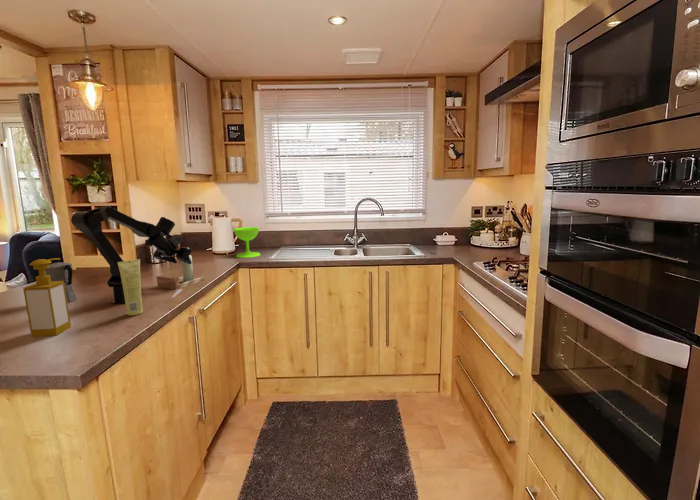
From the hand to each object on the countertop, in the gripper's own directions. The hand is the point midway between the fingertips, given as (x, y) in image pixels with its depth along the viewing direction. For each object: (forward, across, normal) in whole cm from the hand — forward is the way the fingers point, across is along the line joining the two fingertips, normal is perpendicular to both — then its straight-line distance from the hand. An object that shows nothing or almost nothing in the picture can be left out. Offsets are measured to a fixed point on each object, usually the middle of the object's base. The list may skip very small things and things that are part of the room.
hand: (183, 263), depth 178 cm
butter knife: (-8, -15, +22) cm, 28 cm away
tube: (-22, -18, +36) cm, 46 cm away
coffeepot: (-22, +24, +35) cm, 47 cm away
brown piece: (+5, 0, +8) cm, 10 cm away
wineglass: (+56, +16, -41) cm, 71 cm away
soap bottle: (-36, -7, +49) cm, 62 cm away
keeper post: (+8, 0, +5) cm, 10 cm away
